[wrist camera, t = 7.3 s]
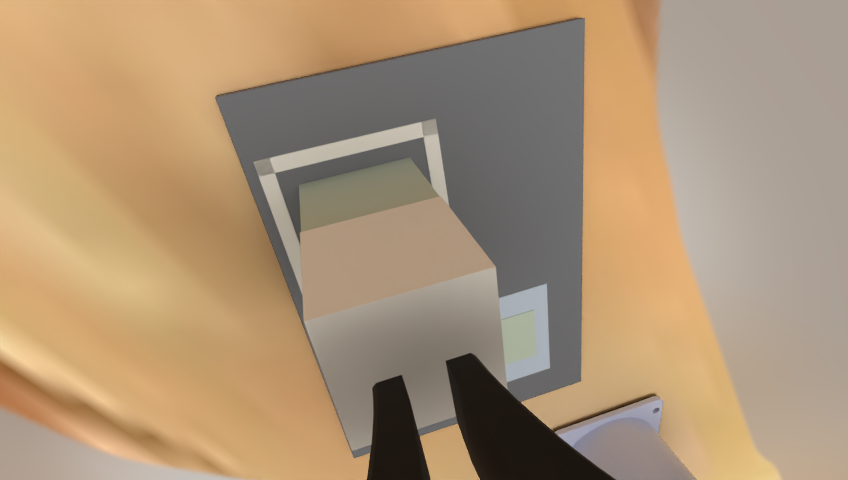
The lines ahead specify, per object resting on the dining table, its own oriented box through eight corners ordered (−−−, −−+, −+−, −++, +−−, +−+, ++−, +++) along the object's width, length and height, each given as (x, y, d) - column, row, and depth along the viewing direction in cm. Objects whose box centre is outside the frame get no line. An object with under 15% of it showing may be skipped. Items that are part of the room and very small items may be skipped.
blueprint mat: (577, 376, 28) (581, 382, 27) (353, 452, 26) (354, 459, 25) (579, 17, 18) (585, 18, 18) (217, 95, 16) (215, 97, 16)
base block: (427, 251, 21) (459, 308, 17) (329, 278, 20) (338, 345, 16) (409, 157, 18) (441, 198, 15) (298, 184, 18) (301, 235, 14)
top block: (457, 307, 17) (508, 399, 13) (337, 342, 16) (351, 451, 12) (441, 196, 14) (495, 266, 11) (299, 232, 14) (303, 322, 10)
